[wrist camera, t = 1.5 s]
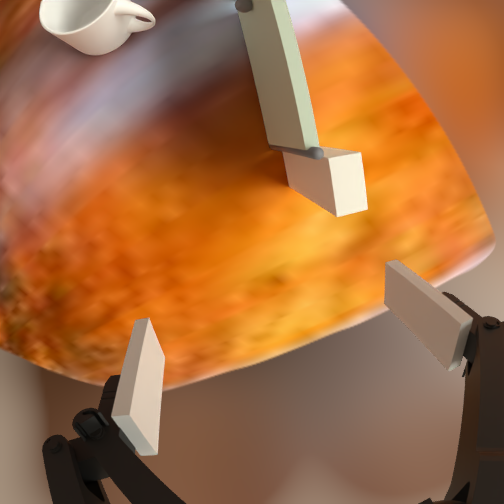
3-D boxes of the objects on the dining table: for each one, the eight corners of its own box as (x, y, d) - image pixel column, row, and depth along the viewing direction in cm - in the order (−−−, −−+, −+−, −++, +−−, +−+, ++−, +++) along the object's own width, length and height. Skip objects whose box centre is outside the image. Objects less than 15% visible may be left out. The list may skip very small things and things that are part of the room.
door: (224, 14, 30) (240, -47, 16) (246, 11, 30) (274, -49, 16) (256, 153, 37) (292, 165, 23) (278, 148, 38) (326, 158, 23)
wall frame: (239, -25, 28) (261, -89, 14) (262, -27, 28) (293, -88, 14) (289, 186, 40) (337, 217, 26) (311, 181, 40) (367, 209, 26)
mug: (148, 65, 31) (130, 42, 21) (64, 53, 28) (26, 34, 18) (172, 7, 29) (165, -32, 19) (89, -3, 26) (60, -36, 16)
